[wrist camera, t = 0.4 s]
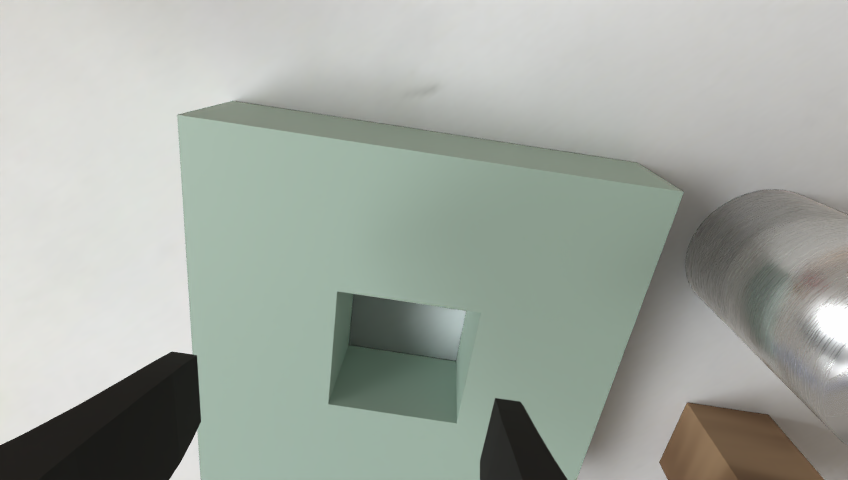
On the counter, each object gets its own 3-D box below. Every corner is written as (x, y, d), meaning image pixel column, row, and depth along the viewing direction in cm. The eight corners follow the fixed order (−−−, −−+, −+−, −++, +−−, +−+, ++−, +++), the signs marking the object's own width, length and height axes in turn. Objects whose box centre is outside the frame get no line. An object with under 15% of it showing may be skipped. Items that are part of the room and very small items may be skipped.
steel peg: (791, 320, 21) (982, 474, 13) (666, 301, 21) (787, 444, 13) (854, 200, 18) (1124, 304, 11) (715, 179, 18) (892, 268, 11)
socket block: (540, 460, 24) (556, 533, 21) (238, 414, 24) (200, 480, 21) (637, 162, 18) (683, 192, 15) (233, 101, 18) (177, 114, 15)
